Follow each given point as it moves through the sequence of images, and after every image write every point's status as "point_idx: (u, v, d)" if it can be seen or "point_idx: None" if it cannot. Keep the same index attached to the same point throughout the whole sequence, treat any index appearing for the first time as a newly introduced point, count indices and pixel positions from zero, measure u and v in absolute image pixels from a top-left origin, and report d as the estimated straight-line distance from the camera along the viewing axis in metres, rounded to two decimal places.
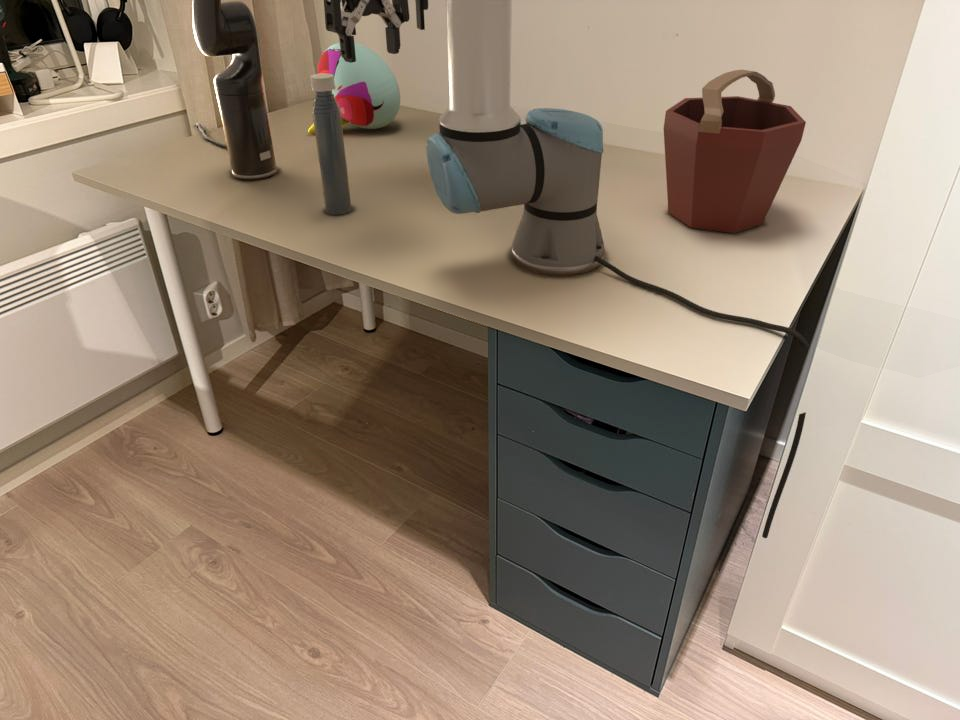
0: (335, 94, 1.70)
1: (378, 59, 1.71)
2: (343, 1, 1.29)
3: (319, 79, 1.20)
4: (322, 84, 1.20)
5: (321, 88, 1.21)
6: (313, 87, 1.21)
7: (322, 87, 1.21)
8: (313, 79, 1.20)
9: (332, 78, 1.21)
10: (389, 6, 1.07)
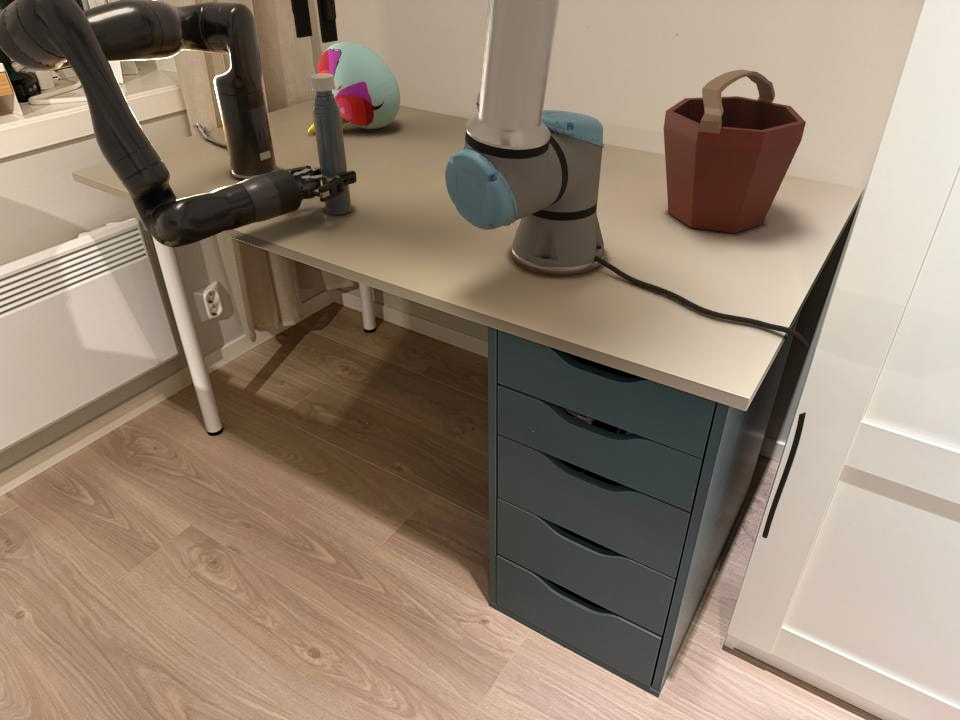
0: (335, 94, 1.70)
1: (378, 59, 1.71)
2: None
3: (319, 79, 1.20)
4: (322, 84, 1.20)
5: (321, 88, 1.21)
6: (313, 87, 1.21)
7: (322, 87, 1.21)
8: (313, 79, 1.20)
9: (332, 78, 1.21)
10: None
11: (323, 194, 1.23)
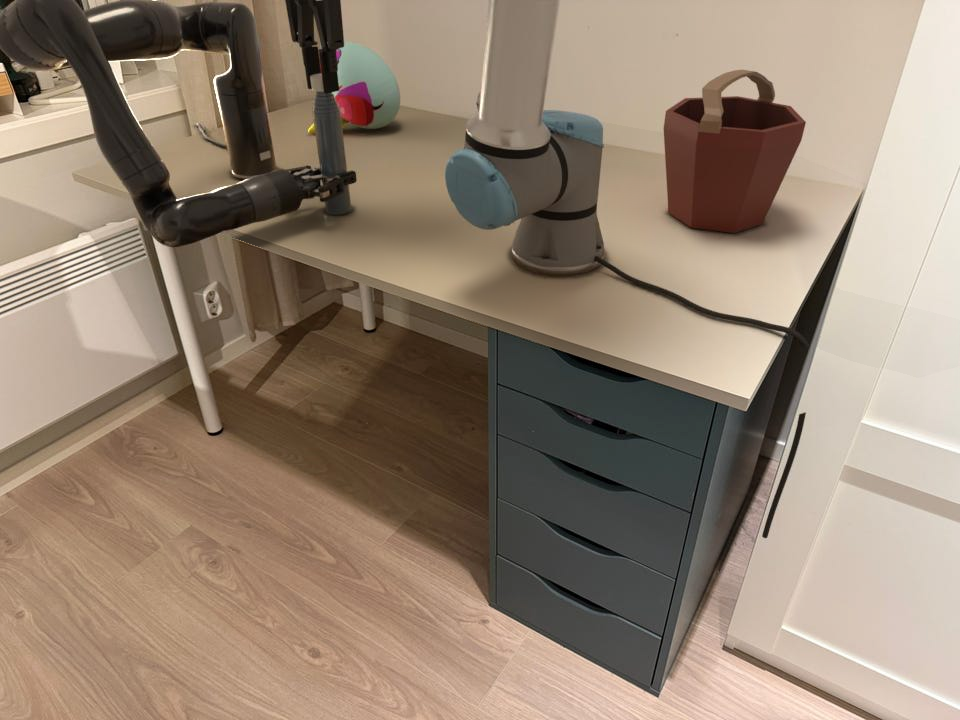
0: (335, 94, 1.70)
1: (378, 59, 1.71)
2: (303, 52, 1.21)
3: (319, 79, 1.20)
4: (322, 84, 1.20)
5: (321, 88, 1.21)
6: (313, 87, 1.21)
7: (322, 87, 1.21)
8: (313, 79, 1.20)
9: None
10: None
11: (323, 194, 1.23)
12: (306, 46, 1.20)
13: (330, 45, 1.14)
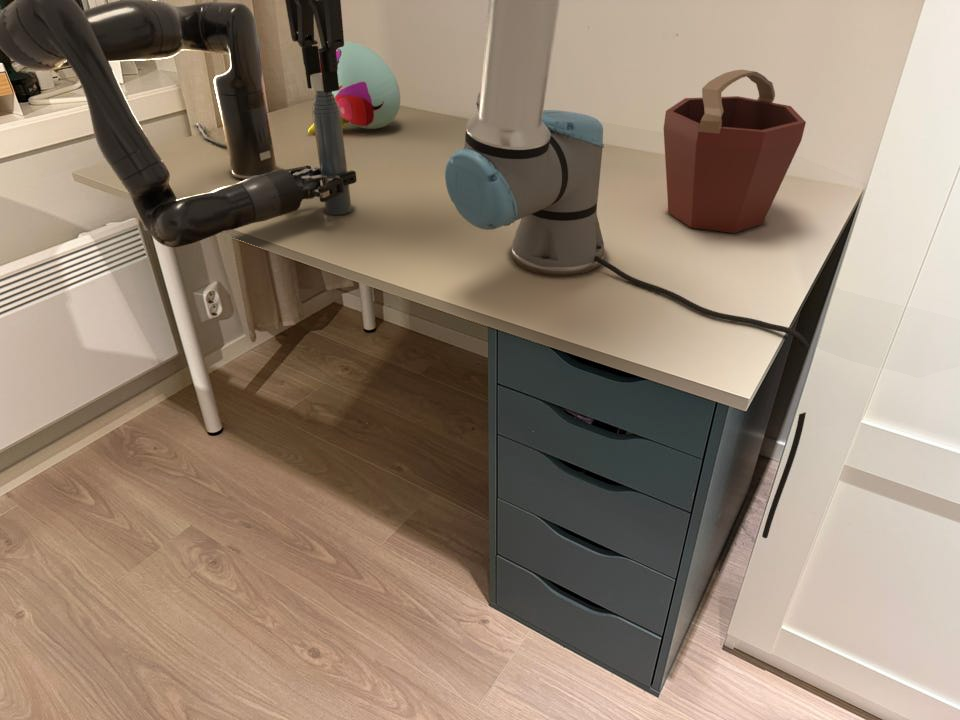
0: (335, 94, 1.70)
1: (378, 59, 1.71)
2: (303, 52, 1.21)
3: None
4: None
5: None
6: None
7: None
8: None
9: (321, 74, 1.23)
10: None
11: (323, 194, 1.23)
12: (306, 45, 1.20)
13: (330, 44, 1.14)
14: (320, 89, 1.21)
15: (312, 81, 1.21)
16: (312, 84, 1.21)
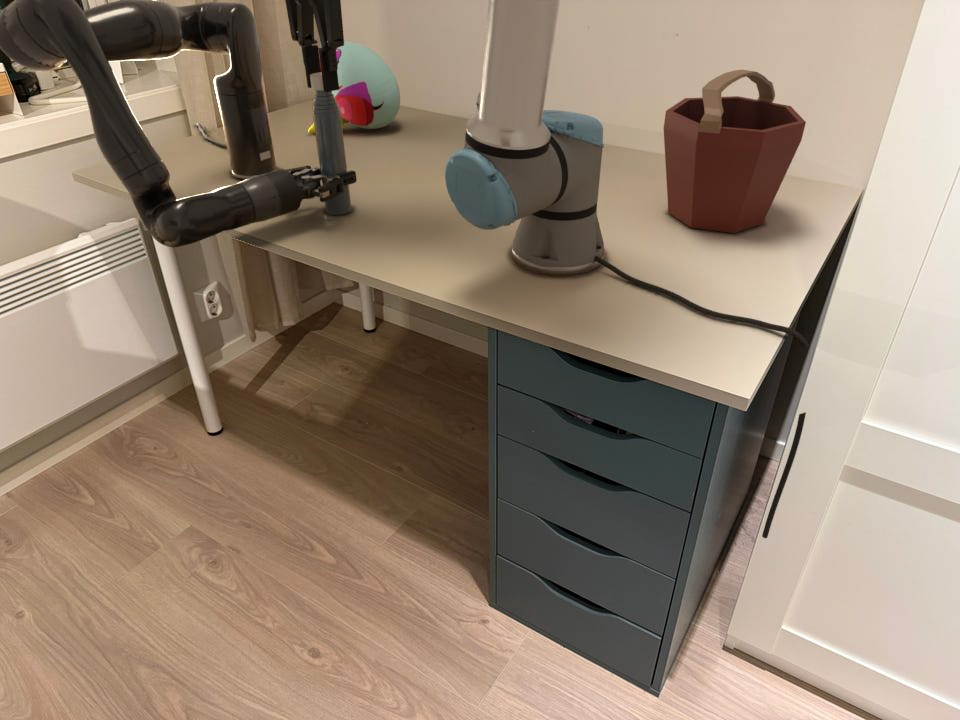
0: (335, 94, 1.70)
1: (378, 59, 1.71)
2: (302, 51, 1.21)
3: None
4: None
5: None
6: None
7: None
8: None
9: (311, 78, 1.20)
10: None
11: (323, 194, 1.23)
12: (306, 45, 1.20)
13: (330, 44, 1.14)
14: None
15: None
16: None
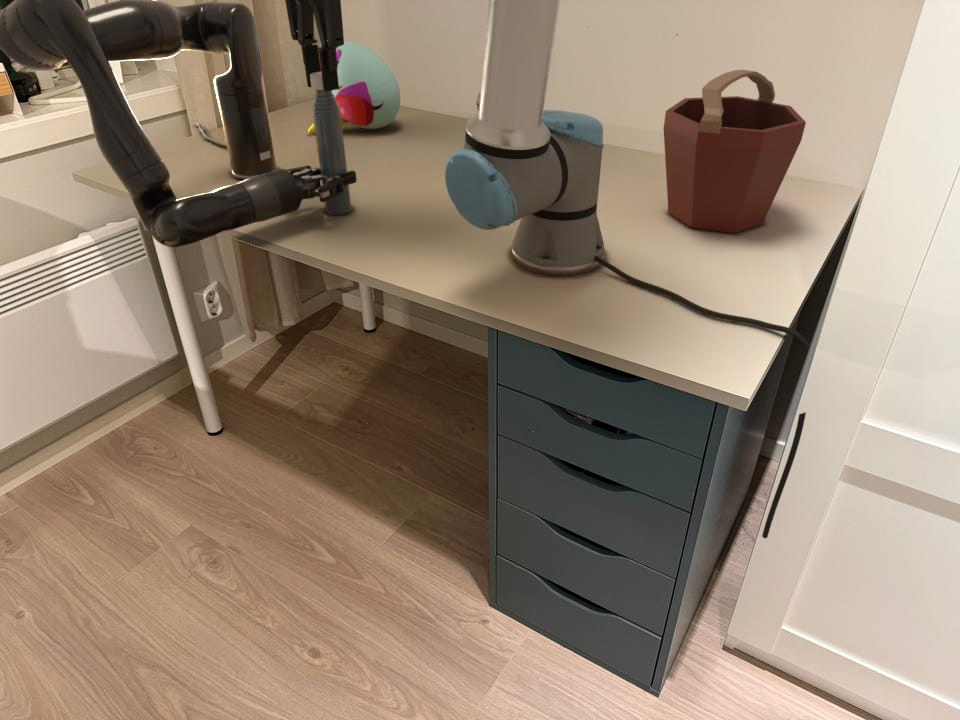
0: (335, 94, 1.70)
1: (378, 59, 1.71)
2: (302, 50, 1.21)
3: (316, 77, 1.20)
4: (319, 82, 1.20)
5: (318, 86, 1.20)
6: (311, 85, 1.21)
7: (319, 85, 1.20)
8: (311, 77, 1.20)
9: None
10: None
11: (323, 194, 1.23)
12: (306, 44, 1.20)
13: (330, 43, 1.14)
14: None
15: None
16: None
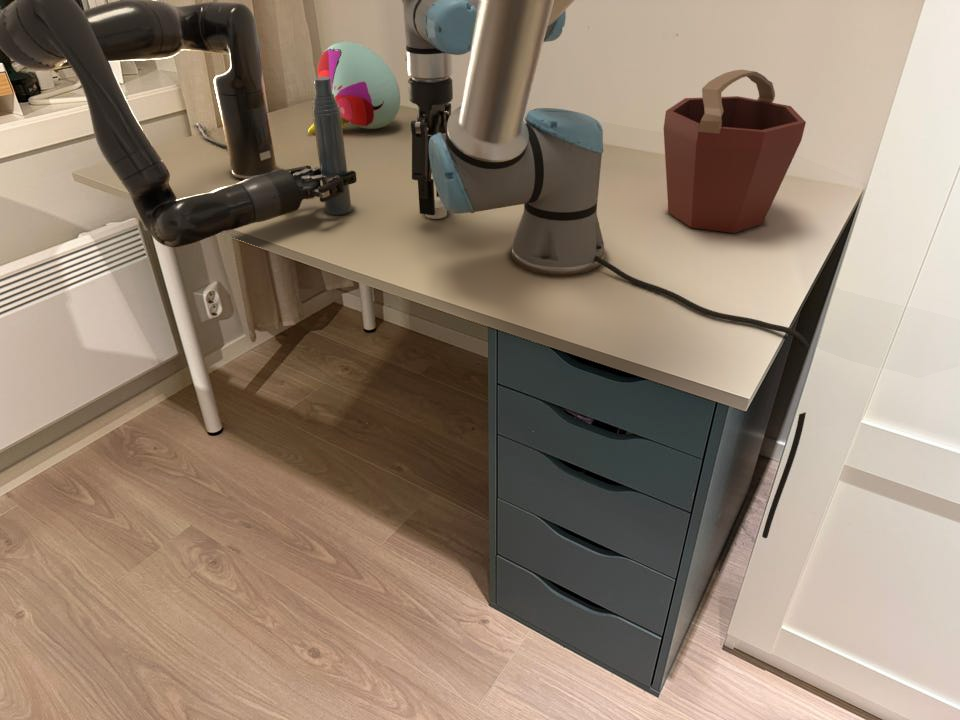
0: (335, 94, 1.70)
1: (378, 59, 1.71)
2: (427, 186, 1.24)
3: None
4: None
5: (446, 211, 1.33)
6: (444, 214, 1.31)
7: None
8: None
9: None
10: None
11: (323, 194, 1.23)
12: None
13: None
14: (432, 217, 1.31)
15: None
16: None
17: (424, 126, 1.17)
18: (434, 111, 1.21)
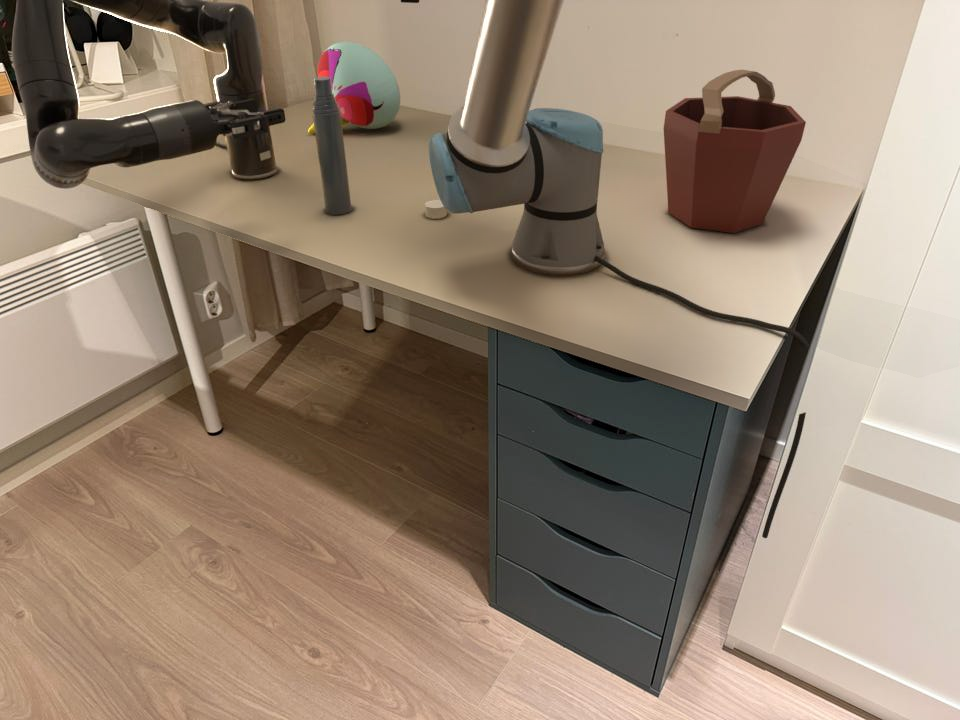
0: (335, 94, 1.70)
1: (378, 59, 1.71)
2: None
3: None
4: None
5: (446, 211, 1.33)
6: (444, 214, 1.31)
7: None
8: None
9: None
10: None
11: (234, 130, 1.07)
12: None
13: None
14: (432, 217, 1.31)
15: (426, 209, 1.31)
16: (426, 211, 1.32)
17: None
18: None
